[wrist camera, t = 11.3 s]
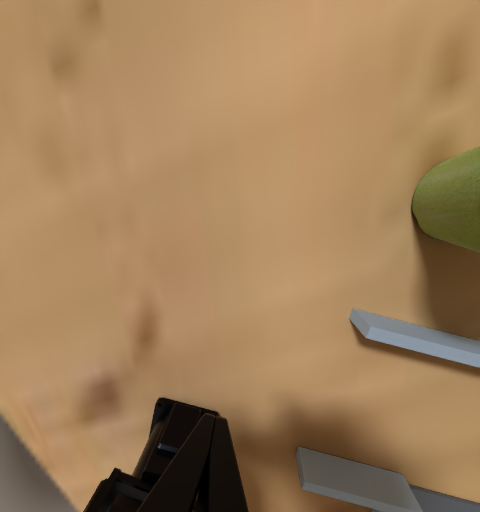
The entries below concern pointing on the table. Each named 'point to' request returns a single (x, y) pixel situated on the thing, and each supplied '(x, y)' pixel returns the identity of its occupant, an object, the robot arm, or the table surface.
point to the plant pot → (451, 201)
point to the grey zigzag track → (376, 479)
